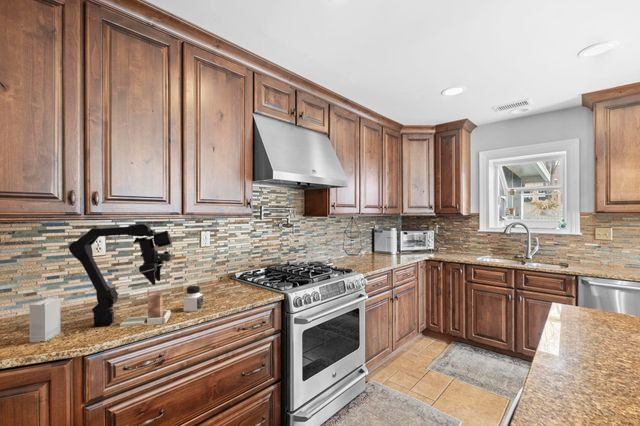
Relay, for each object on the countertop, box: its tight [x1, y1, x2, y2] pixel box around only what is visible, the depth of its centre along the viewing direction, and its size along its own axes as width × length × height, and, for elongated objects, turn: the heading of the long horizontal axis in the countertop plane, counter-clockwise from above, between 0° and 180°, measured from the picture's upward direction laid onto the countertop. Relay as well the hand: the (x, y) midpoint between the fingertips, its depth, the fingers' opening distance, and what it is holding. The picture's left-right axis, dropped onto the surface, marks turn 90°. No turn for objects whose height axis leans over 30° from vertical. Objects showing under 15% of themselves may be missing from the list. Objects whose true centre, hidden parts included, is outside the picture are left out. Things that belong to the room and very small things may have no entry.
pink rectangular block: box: [147, 291, 164, 319], centre depth 141 cm, size 5×5×12 cm
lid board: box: [119, 315, 148, 328], centre depth 139 cm, size 9×9×1 cm
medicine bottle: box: [183, 284, 204, 312], centre depth 157 cm, size 7×7×12 cm
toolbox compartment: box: [146, 309, 171, 326], centre depth 142 cm, size 7×12×2 cm, turn 16°
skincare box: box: [29, 298, 61, 343], centre depth 121 cm, size 8×6×15 cm
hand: (156, 282), depth 142 cm, fingers open, 9 cm apart
